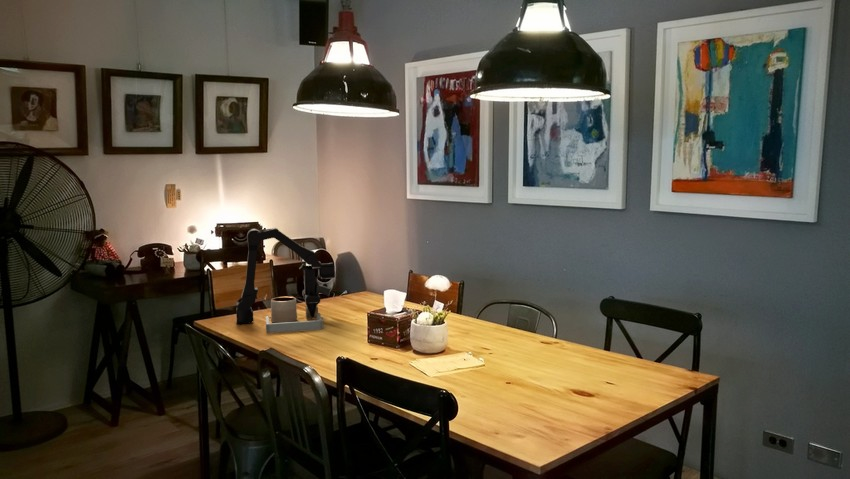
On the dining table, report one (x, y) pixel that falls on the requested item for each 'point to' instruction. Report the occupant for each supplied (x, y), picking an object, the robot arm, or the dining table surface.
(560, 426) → the dining table surface
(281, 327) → the tray bay
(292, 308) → the planter
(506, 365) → the dining table surface
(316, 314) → the walnut block
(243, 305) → the robot arm
